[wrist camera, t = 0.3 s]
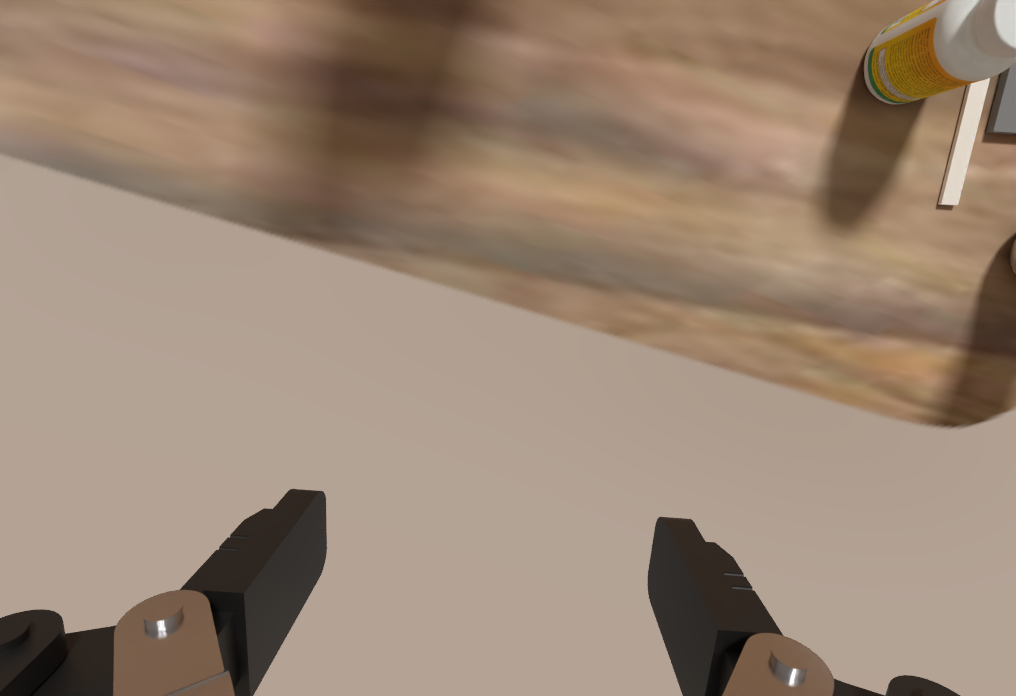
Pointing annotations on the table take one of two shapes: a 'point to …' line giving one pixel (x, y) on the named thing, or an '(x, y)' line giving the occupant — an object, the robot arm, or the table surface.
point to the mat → (1004, 105)
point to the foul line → (963, 142)
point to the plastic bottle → (1013, 257)
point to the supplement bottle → (941, 49)
